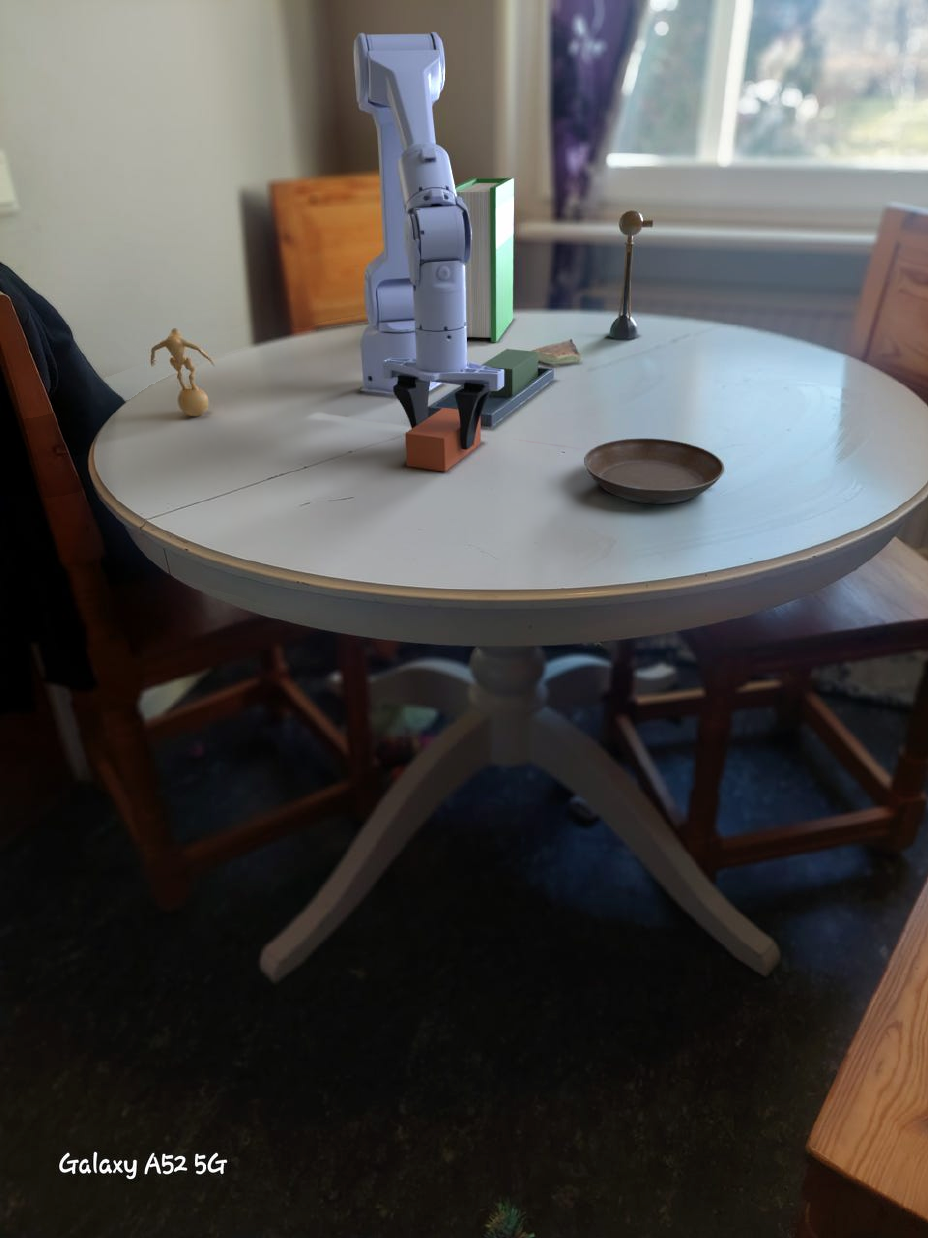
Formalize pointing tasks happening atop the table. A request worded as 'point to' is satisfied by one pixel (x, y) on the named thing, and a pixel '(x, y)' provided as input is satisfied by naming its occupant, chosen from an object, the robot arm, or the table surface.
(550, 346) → the tan flat wedge
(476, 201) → the hardback book
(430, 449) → the reddish orange rectangular block
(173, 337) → the figurine
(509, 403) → the tray
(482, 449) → the table surface
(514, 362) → the rear pad
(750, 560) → the table surface
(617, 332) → the ball topped stand
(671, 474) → the saucer
